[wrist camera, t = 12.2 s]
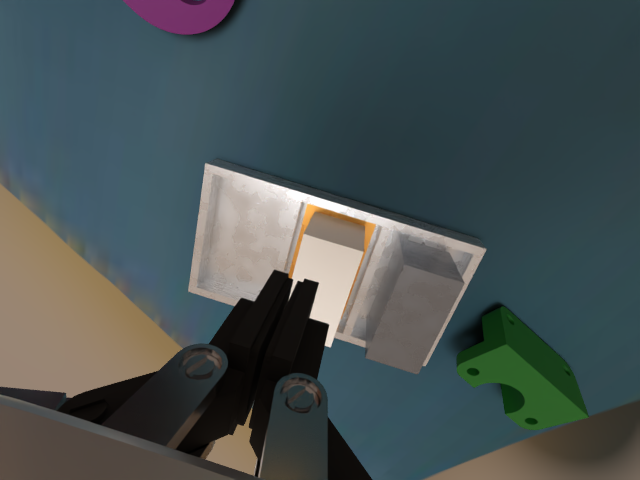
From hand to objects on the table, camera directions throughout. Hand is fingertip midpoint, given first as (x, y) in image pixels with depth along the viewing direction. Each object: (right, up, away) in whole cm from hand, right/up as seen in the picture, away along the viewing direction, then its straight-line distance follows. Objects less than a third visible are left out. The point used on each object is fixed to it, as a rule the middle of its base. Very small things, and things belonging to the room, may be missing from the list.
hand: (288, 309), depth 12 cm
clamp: (+21, -9, +25) cm, 34 cm away
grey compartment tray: (+2, 0, +23) cm, 23 cm away
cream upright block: (+2, 0, +23) cm, 23 cm away
